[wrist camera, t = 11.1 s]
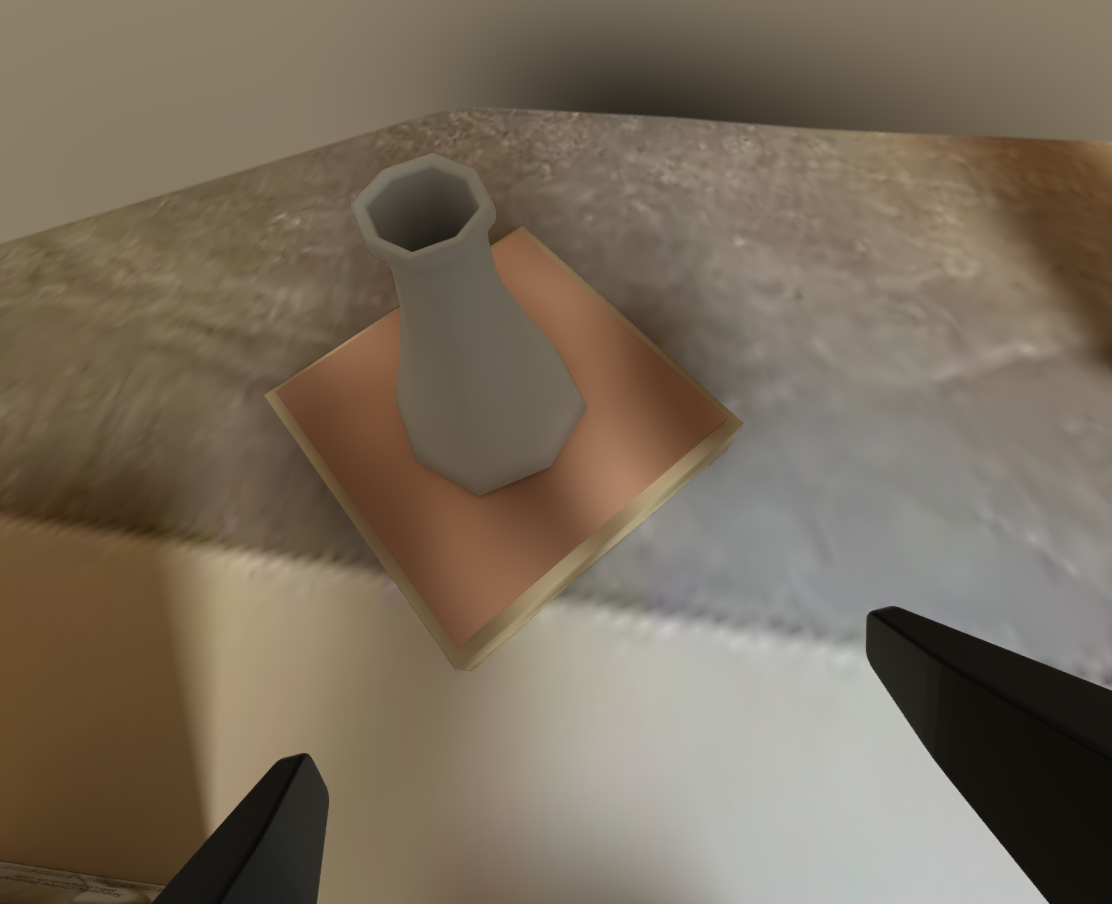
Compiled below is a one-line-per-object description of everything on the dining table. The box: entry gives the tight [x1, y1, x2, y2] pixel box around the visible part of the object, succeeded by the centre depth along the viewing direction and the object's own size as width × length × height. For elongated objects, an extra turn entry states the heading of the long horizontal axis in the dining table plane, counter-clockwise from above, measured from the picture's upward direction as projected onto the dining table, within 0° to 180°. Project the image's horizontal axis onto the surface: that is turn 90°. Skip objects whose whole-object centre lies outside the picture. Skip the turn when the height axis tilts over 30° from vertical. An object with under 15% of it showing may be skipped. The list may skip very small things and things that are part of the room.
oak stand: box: [264, 225, 743, 671], centre depth 23 cm, size 14×14×3 cm
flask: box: [350, 153, 587, 496], centre depth 17 cm, size 7×7×10 cm
